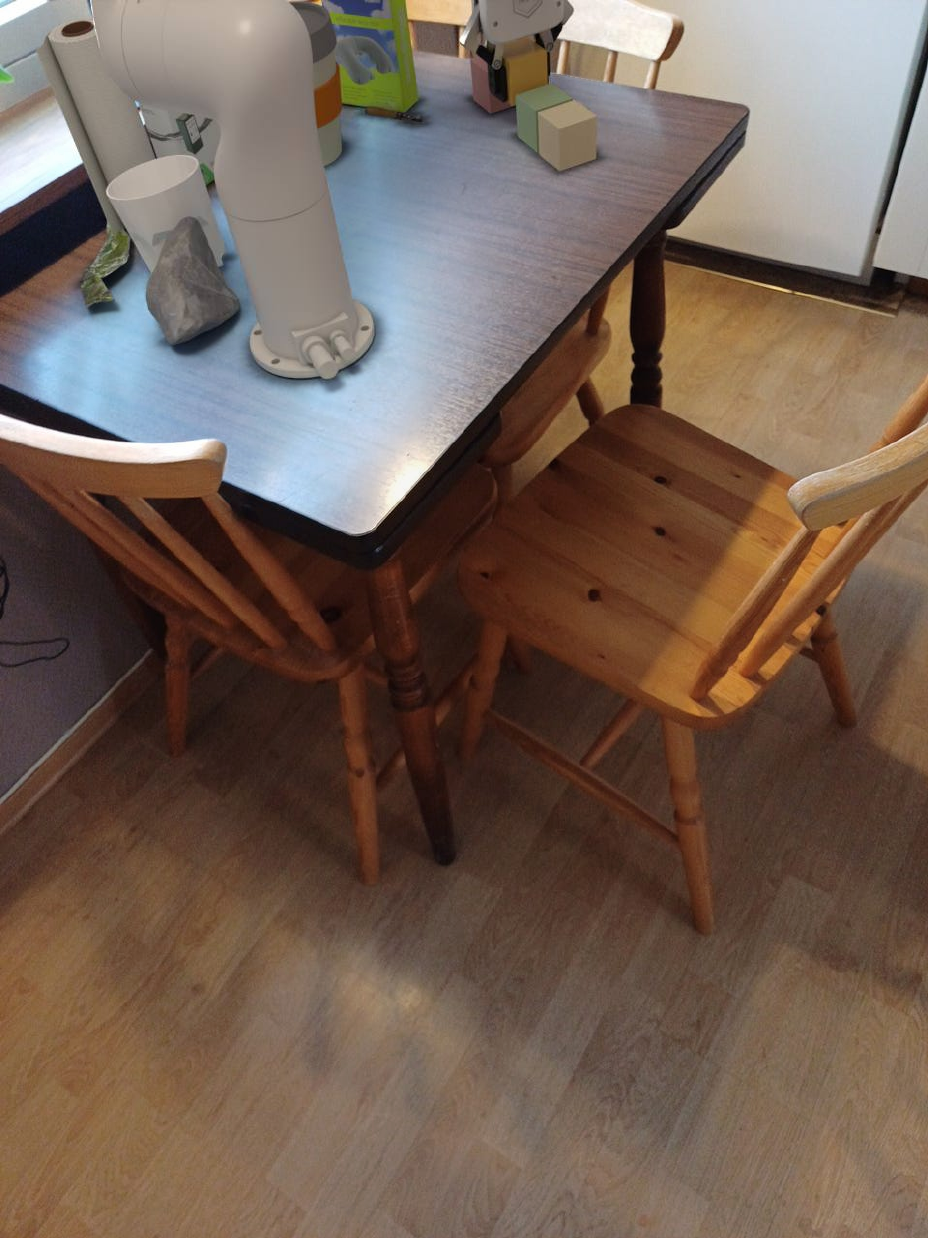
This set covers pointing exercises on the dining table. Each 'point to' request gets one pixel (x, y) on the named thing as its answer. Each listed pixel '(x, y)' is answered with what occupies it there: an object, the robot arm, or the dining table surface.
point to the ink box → (183, 136)
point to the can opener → (393, 115)
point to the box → (374, 53)
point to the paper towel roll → (94, 108)
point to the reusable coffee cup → (324, 78)
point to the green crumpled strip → (105, 267)
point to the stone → (188, 286)
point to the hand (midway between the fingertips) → (520, 89)
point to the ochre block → (524, 67)
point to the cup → (163, 204)
